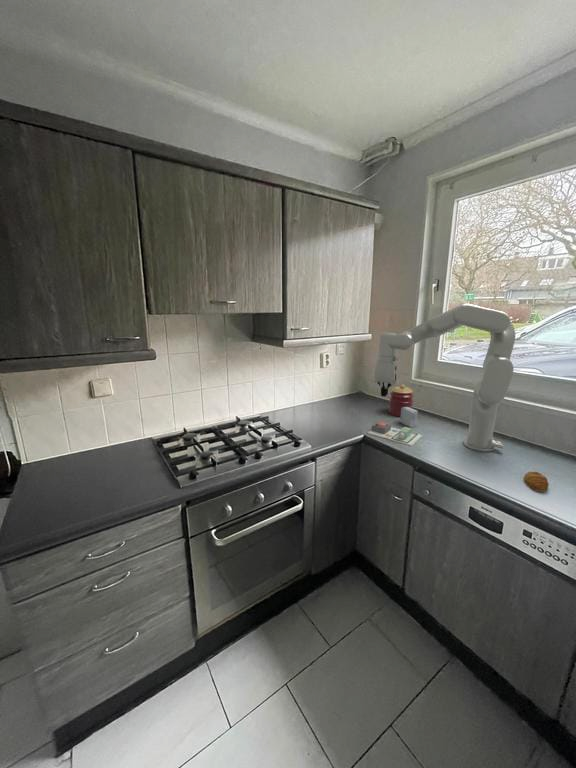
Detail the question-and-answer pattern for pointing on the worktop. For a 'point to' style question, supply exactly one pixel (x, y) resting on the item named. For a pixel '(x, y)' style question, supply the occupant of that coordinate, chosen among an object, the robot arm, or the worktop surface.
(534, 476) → the pastry
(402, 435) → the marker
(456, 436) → the worktop surface
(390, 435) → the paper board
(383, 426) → the button
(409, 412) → the medicine box
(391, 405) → the canister
